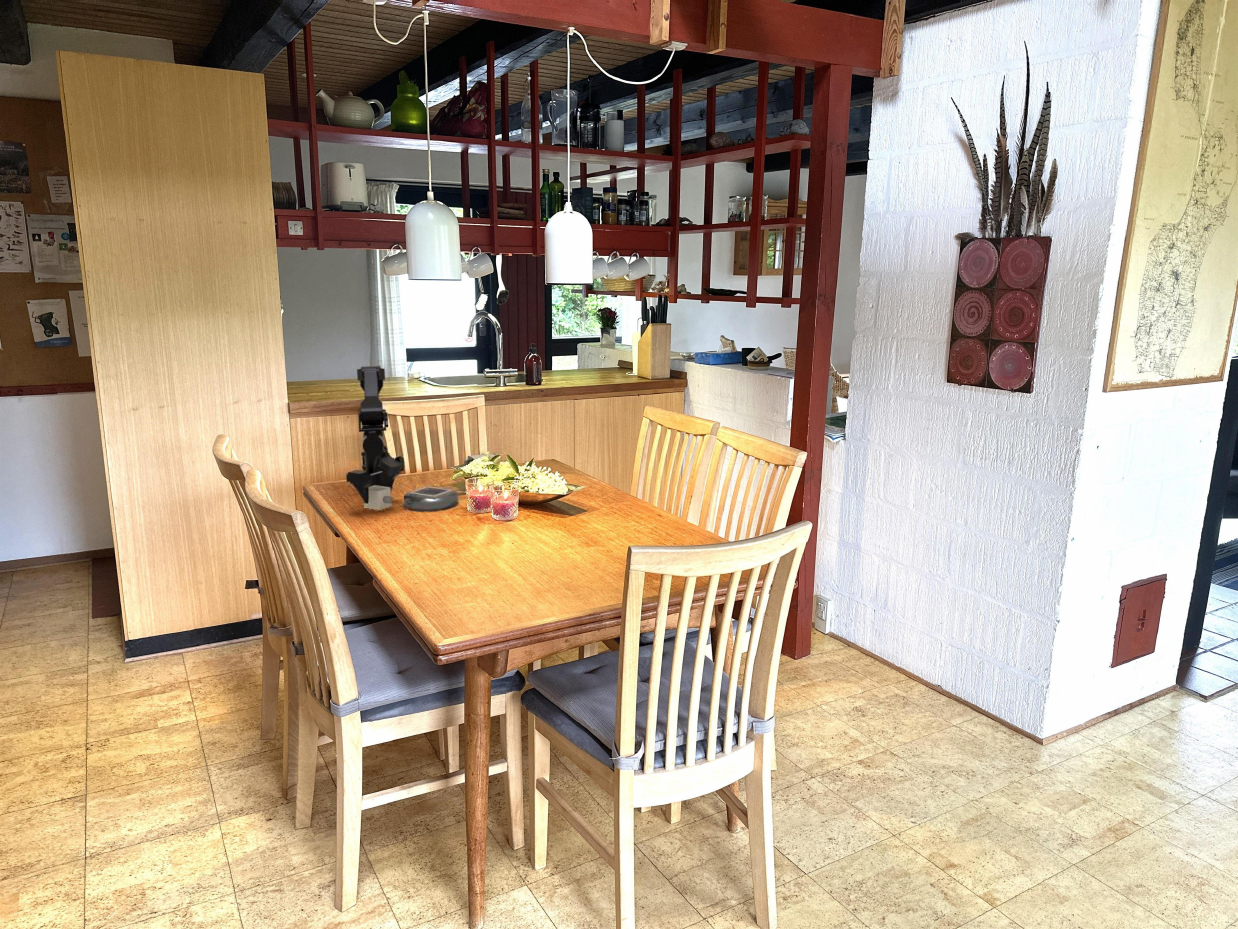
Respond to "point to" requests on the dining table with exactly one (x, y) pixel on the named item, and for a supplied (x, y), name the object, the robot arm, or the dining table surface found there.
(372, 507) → the pump block
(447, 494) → the grey shallow dish
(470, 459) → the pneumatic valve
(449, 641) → the dining table surface
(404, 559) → the dining table surface
